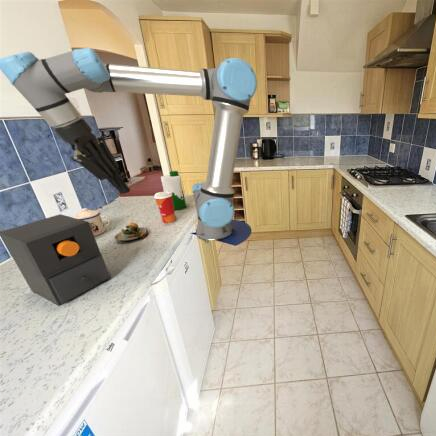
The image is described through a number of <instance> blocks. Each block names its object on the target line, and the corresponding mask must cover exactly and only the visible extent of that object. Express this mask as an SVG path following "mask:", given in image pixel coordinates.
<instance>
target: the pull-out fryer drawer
mask: <svg viewBox="0 0 436 436" xmlns="http://www.w3.org/2000/svg"><path fill="white" fill-rule="evenodd" d="M102 257H103V255H102V256H97V257H94V258H92V259H90V260H87V261H85V262H83V263H81V264H79V265H76V266H74V267H72V268H70V269H68V270H66V271H63V272H61V273H59V274H57V275H55V276H52V277H50V278H49V281H50V283H51V285H52V287H53V289H54V291H55V293H56V295H57V297H58V298H59V300H60V302H61V303H64V302H66V301H67V302H69V301H71V300H73V299H74V298H73V297H75V296H77V295H78V296H80V295H82V294H83V293H82V292H84V291H86V290H87V291H89V290H91V289H93V288H94V287H93V286H95V285H97V284H98V285H100V284H102V283H104V282H105V281H104V280H106V279H107V280H109V279H111V278H110V277H111V275H110V272H109V270H108V267H107V265H106V266H105V264H106V262H105V260H104V261H103V259H104V257H103V258H102ZM104 262H105V263H104ZM106 267H107V268H106ZM107 270H108V271H107ZM108 272H109V273H108ZM109 275H110V276H109ZM108 278H109V279H108ZM107 280H106V281H107ZM103 281H104V282H103ZM101 282H102V283H101ZM99 283H100V284H99ZM98 285H97V286H98ZM92 287H93V288H92ZM95 287H96V286H95ZM90 288H91V289H90ZM88 289H89V290H88ZM87 291H86V292H87ZM81 293H82V294H81ZM84 293H85V292H84ZM79 294H80V295H79ZM78 296H77V297H78ZM72 298H73V299H72ZM75 298H76V297H75ZM70 299H71V300H70ZM68 300H69V301H68ZM67 302H66V303H67ZM64 304H65V303H64Z"/></svg>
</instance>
